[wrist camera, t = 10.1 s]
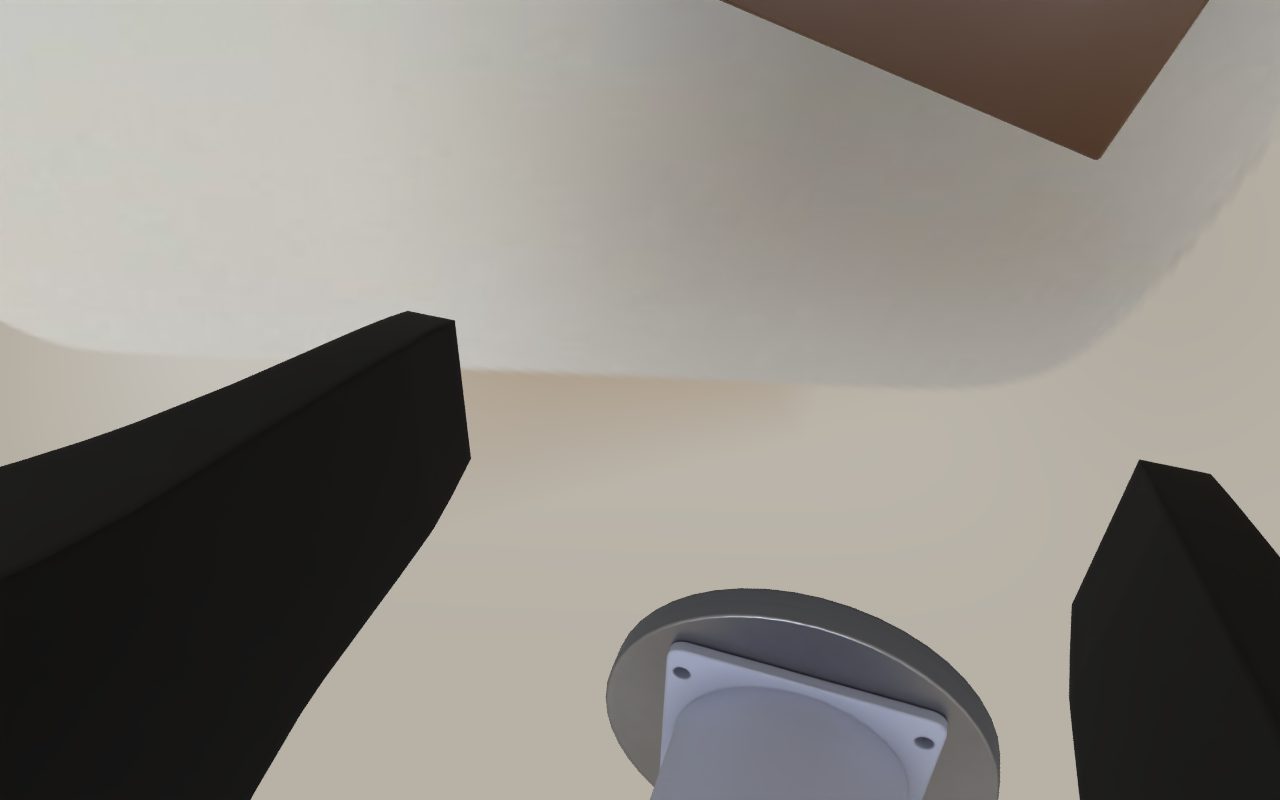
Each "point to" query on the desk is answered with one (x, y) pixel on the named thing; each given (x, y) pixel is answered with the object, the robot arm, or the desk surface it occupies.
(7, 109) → the desk surface
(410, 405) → the robot arm
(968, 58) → the shelf
